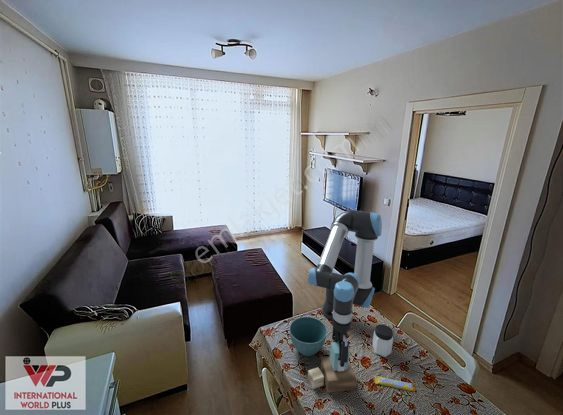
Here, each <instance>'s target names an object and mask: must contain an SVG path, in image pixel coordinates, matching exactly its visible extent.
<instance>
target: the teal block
mask: <svg viewBox="0 0 563 415" xmlns="http://www.w3.org/2000/svg"><path fill="white" fill-rule="evenodd" d="M329 356H330V361H331V364H332V367H333V370H334V371H337V369H338V357H339V343H338V342H332V341H331V342H330V350H329ZM349 356H350V352H349V350H348V359H350V357H349ZM347 369H348V362H345V368H344V370H347Z"/></svg>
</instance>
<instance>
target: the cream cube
mask: <svg viewBox="0 0 563 415" xmlns="http://www.w3.org/2000/svg"><path fill="white" fill-rule="evenodd" d="M307 380H308V381H307V382H309V385H310V386H311V388H312V389H313V390H315V389H318V388H320V387H323V386H324V385H325V381H324V376H323V374H322V371H321V368H319V366H317V367H314V368H311V369H309V370H307Z"/></svg>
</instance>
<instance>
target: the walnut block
mask: <svg viewBox="0 0 563 415" xmlns="http://www.w3.org/2000/svg"><path fill="white" fill-rule="evenodd" d="M349 359H350V358H348V369H347V370H344V371H338V370H337V371H334V370H333V367H332V364H331V361H330V355H329V356H321V357H320V371H321V372H322V374H323V376H324V385H325V388H326V390H327V392H326V393H333V392H334V393H336V392H343V391H344V392H346V391H355V390H356V388H357V376H356V374H355V371H354V369H353V367H352V364H351V362H350V360H349Z"/></svg>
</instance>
